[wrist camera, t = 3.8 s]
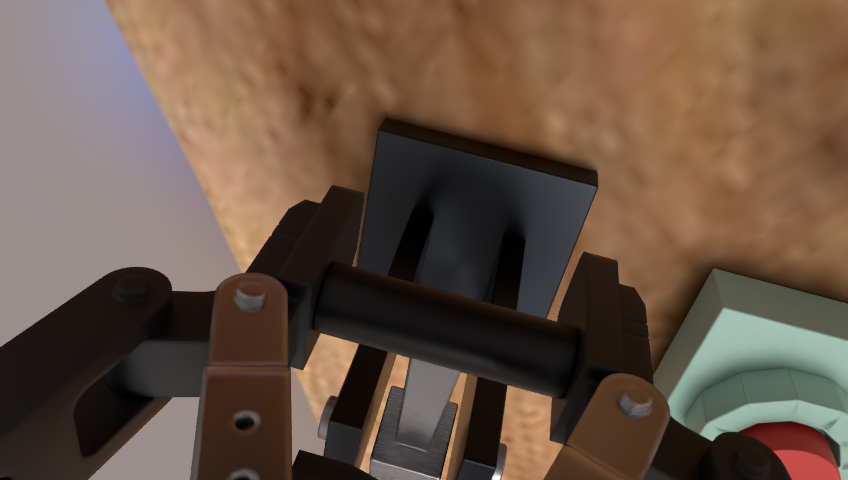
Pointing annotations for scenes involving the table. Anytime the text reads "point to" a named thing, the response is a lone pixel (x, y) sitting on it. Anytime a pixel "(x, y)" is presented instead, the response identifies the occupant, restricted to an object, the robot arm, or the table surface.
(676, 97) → the table surface
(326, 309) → the lever
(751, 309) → the button box
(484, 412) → the bracket
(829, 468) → the button
